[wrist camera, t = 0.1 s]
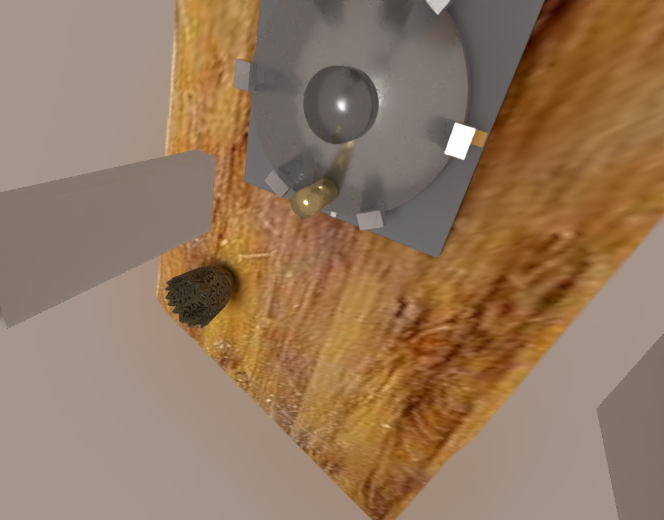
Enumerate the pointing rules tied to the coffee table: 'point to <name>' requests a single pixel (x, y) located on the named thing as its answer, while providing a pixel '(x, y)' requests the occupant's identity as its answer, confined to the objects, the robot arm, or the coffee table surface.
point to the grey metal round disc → (358, 102)
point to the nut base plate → (486, 100)
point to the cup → (200, 294)
